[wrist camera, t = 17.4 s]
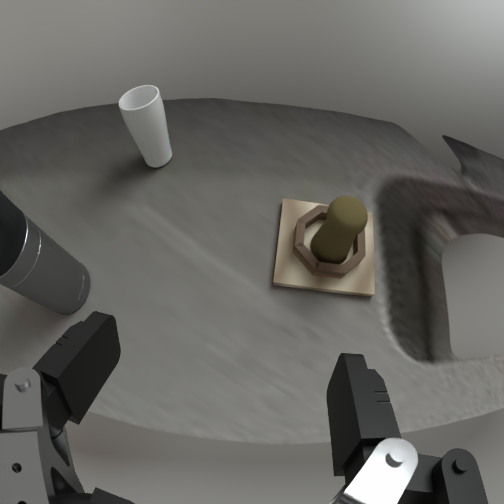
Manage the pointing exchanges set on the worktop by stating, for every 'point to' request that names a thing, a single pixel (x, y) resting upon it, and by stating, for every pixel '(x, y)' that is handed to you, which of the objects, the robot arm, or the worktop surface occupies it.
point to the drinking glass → (147, 123)
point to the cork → (339, 230)
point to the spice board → (300, 274)
